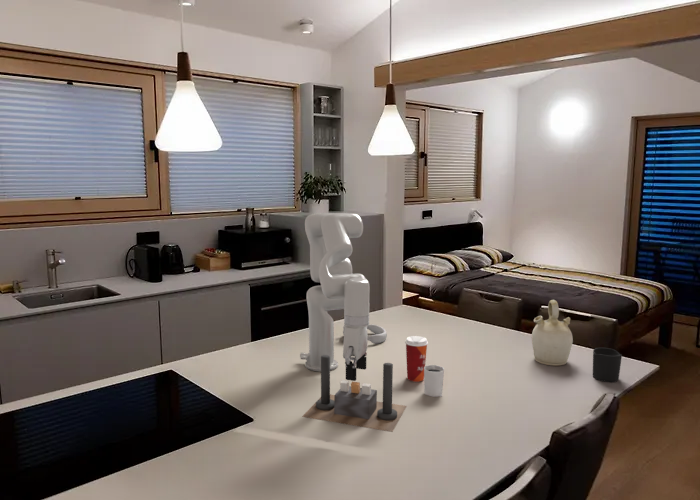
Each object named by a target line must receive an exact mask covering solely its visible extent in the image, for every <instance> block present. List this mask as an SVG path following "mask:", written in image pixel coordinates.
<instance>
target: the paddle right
mask: <svg viewBox="0 0 700 500" xmlns="http://www.w3.org/2000/svg"><path fill="white" fill-rule="evenodd" d="M361 388H362V394H365V395H370V394H371V389H372V384H371V383H366V382H363V383H362V384H361Z"/></svg>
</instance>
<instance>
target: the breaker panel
mask: <svg viewBox="0 0 700 500" xmlns="http://www.w3.org/2000/svg"><path fill="white" fill-rule="evenodd" d="M377 395H378V390H377V389H372V388H371V394H370V395H365V394H362V387H360V392H359V394H358V393H352V392H351V385H349V391H348V392H345V391H341V389H340V388H339V390H337V392H336V393H335V394H332V393H330V399H332V400H334V409H332V410H326V411H325V410H319V409H317V408H316V402H315V403H313V404H312V405H311V406H310V407H309V408H308V410H307V411H306V412H305V413H304V414H303V415H302V417H303V418H307V419H313V420H314V419H315V420H319V421H324V422H331V423H336V424H337V423H338V424H343V425H349V426H355V427H360V428H361V427H362V428H366V429H367V428H368V429H374V430H379V431H385V432H391V433H393V432H394V430H395V428H396V426H397V425H398V422H399V421H400V419H401V418H402V416H403V414H404V412H405V410H406V408H407V407H408V406H407V405H403V404H398V403H397V404H396V403H392V409H394V410H396V411H397V418H396V419H394V420H390V421H386V420H381V419H379V418H378V417H377V411H378V410H379V409H382V408H383V401H378V400H377V397H378V396H377ZM320 399H321V396H320V397H319V399H318V400H320Z"/></svg>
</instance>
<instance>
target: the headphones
mask: <svg viewBox="0 0 700 500" xmlns="http://www.w3.org/2000/svg"><path fill="white" fill-rule="evenodd" d="M345 327H346V326H345V325H344V324H343V327H342V328H343V330H342V334H343V336H344V333H345ZM367 330H368V331H370V332H371V333H373V334H372V335H367V342H370V343H372V344H382V343H384V342H385V341H386V339H387V337H388V334H387V330H386V329H385V328H384V327H382V326H381V325H378V324H373V323H372V324H369V326H367Z"/></svg>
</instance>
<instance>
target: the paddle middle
mask: <svg viewBox="0 0 700 500" xmlns="http://www.w3.org/2000/svg"><path fill="white" fill-rule="evenodd" d="M360 384H361V383H360V382H358V381H351V383H350V386H351V392H352V393H358V394H359V392H360V388H361V385H360Z"/></svg>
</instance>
